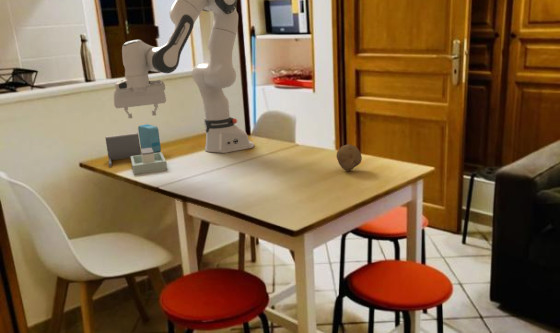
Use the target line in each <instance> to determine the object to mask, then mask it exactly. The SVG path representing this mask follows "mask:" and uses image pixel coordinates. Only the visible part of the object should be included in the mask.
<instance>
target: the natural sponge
mask: <svg viewBox="0 0 560 333" xmlns="http://www.w3.org/2000/svg"><path fill="white" fill-rule="evenodd" d="M336 159H337V162H338V165H339V166H340V168H342V169H343V170H344V171H345V172H351V171H352V170H353V169H354V168H355V167H358V166H359V165H360V164H361V163H362V160H363V158H362V154H361V151H360V150H359V149H358V147H357V146H355V145H353V144H349V143H348V144H345V145H342V146H341V147H339V149H338V150H337V152H336Z"/></svg>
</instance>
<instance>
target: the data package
mask: <svg viewBox="0 0 560 333" xmlns="http://www.w3.org/2000/svg"><path fill="white" fill-rule="evenodd" d="M137 129H138V136H139V143H140V150H141V149H144V148H151V147H152V150H153V152H154V153H159V152H161V150H162V149H161V148H162V147H161V141H160V131H159V128H158V126H155V125H152V124H141V125H138V128H137Z"/></svg>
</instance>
